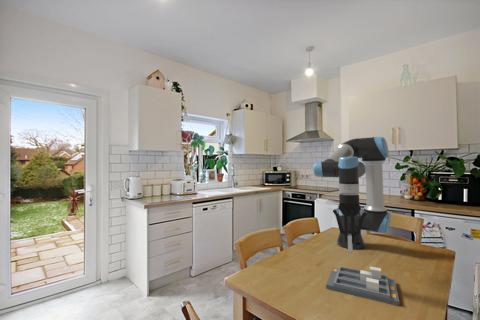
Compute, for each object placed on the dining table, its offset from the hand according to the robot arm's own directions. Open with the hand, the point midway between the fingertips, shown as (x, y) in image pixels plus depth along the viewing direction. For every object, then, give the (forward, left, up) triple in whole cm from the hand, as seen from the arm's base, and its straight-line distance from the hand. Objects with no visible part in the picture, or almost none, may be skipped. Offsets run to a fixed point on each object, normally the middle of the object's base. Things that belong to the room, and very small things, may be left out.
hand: (350, 250), depth 98 cm
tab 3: (+6, +8, -12) cm, 15 cm away
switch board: (0, +4, -13) cm, 14 cm away
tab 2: (-6, +9, -12) cm, 16 cm away
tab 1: (0, +6, -12) cm, 13 cm away
